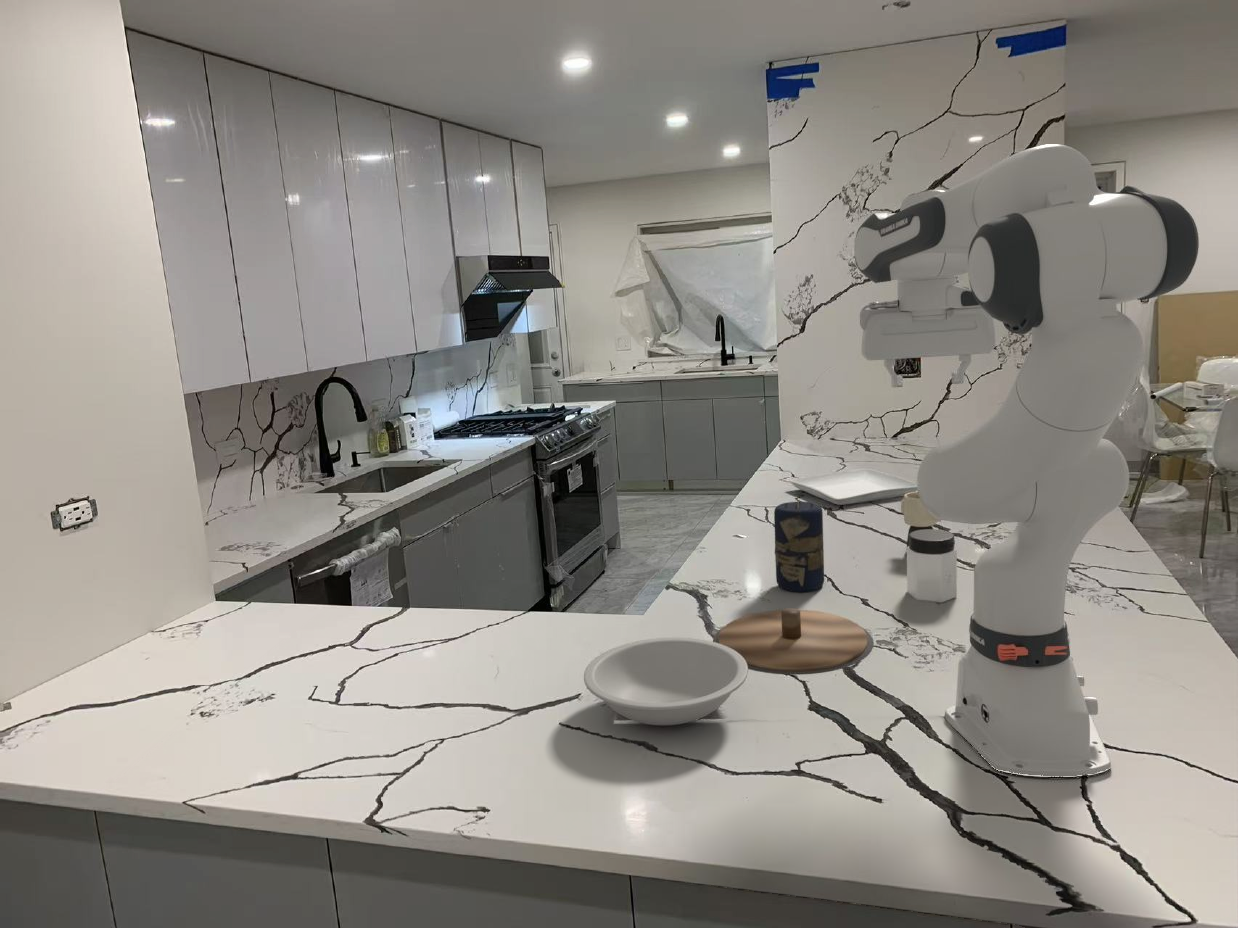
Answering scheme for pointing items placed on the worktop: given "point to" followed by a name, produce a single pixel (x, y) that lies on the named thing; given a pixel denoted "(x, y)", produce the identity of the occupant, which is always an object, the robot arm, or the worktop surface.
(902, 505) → the character mug
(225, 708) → the worktop surface
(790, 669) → the lid
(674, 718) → the soup bowl
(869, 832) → the worktop surface
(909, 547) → the jar
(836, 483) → the square plate
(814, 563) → the canister
